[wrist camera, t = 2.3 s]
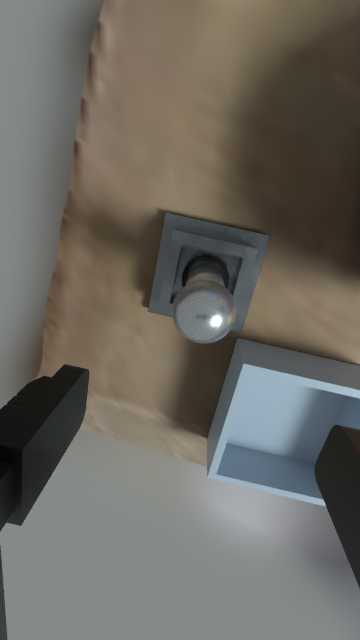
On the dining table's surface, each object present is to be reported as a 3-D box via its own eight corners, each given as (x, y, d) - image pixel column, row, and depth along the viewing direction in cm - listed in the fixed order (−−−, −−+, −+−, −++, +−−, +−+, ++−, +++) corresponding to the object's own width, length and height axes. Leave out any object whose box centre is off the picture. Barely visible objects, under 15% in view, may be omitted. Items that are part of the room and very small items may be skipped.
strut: (188, 249, 29) (173, 276, 16) (233, 259, 29) (252, 294, 16) (179, 292, 30) (158, 348, 18) (221, 301, 30) (231, 364, 18)
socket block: (167, 212, 29) (161, 212, 26) (268, 235, 29) (276, 237, 26) (149, 308, 32) (142, 319, 29) (240, 329, 32) (243, 342, 29)
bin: (237, 337, 33) (243, 363, 27) (364, 366, 32) (397, 398, 27) (207, 438, 37) (206, 478, 32) (317, 464, 37) (336, 508, 32)
